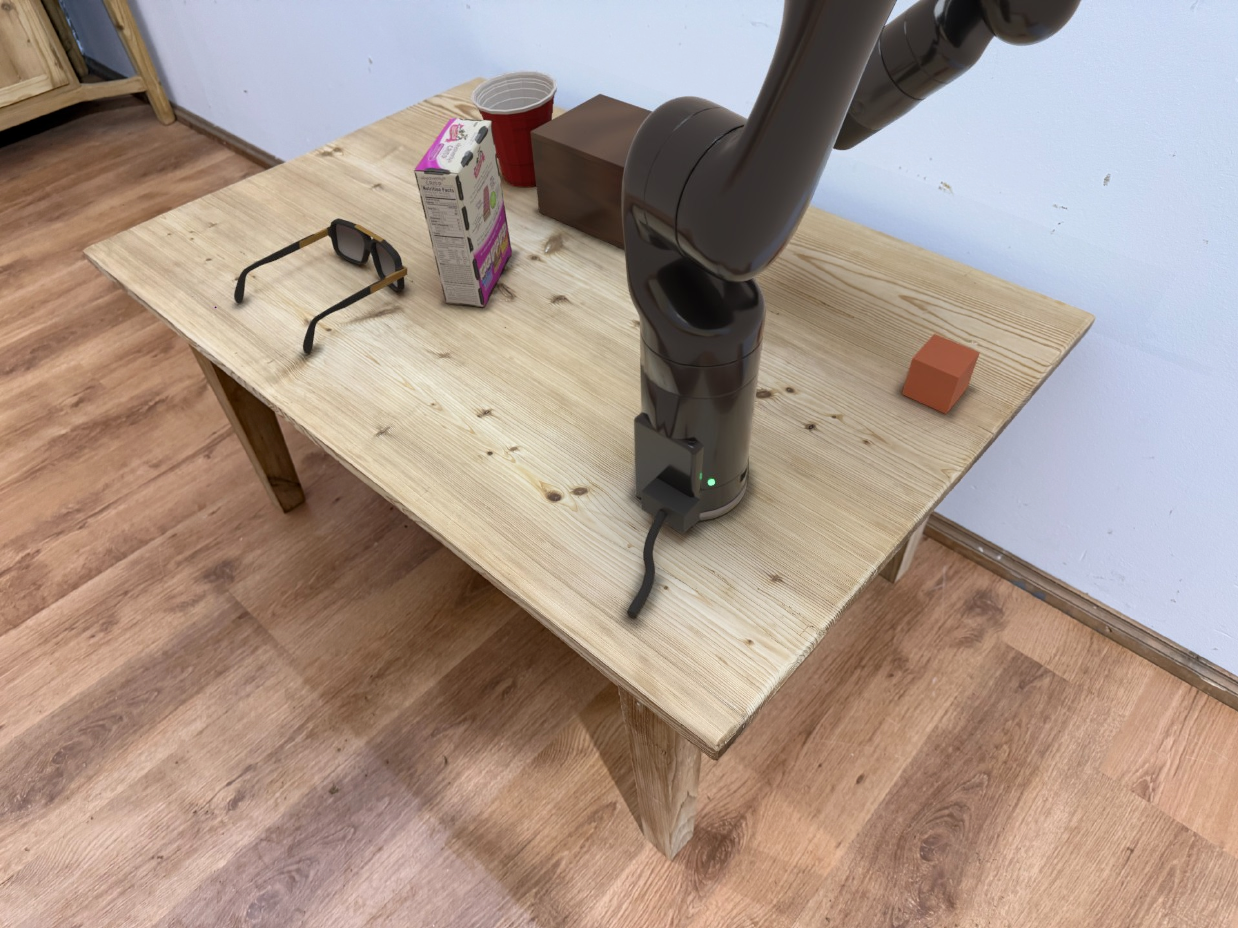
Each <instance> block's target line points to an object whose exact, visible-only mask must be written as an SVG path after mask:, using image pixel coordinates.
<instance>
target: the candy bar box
mask: <svg viewBox="0 0 1238 928" xmlns="http://www.w3.org/2000/svg"><path fill="white" fill-rule="evenodd" d="M413 173H414V177H415V180H416V181H415V182H416V185H417V189H418V193H419V197H420V202H421V207H422V209H423V214H424V218H425V223H426V226H427V231H428V233H429V234H428V235H429V238H430V241H431V243H430V244H431V247H432V251H433V255H434V260H435V263H436V268H437V272H438V276H439V280H440V284H441V288H442V293H443V298H444V301H445V303H446V304H450V305H454V306H455V305H457V306H471V307H478V308H479V307H480V308H485V306H486V305H487V302H488V300H490V299H489V298H490V297H491V295H492V293H493V290H494V289H495V287H496V285H497V282H498V280H499V279H500V276H501V274H502V273H503V270H504V269H505V267H506V265H507V263H508V260H509V259H510V258H511V255H512V253H513V250H512V243H511V239H510V237H511V236H510V232H509V225H508V220H507V214H506V207H505V200H504V195H503V189H502V183H501V180H502V179H501V176H500V169H499V161H498V158H497V156H496V149H495V143H494V137H493V131H492V124H491V121H487V120H483V119H471V118H466V119H463V118H461V117H454V118H449V119H448V121H447V122H446V124H445V125H444V126H443V128H442V130H441V131H440V133H438V135H437V137H436V138H435V139H434V141H433V142H432V144H431V145H430V146H429V148H428V149H427V151H426V152H425V153H424V155H423V156H422V158H421V159H420V161H419V162H418V163H417V165H416V166H415V167H414V169H413Z"/></svg>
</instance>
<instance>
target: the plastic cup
mask: <svg viewBox="0 0 1238 928" xmlns="http://www.w3.org/2000/svg"><path fill="white" fill-rule="evenodd" d="M557 90H558V85H557V79H555V78H554V77H552V75H550V74H549V73H545V72H542V71H538V70H517V71H511V72H504V73H502V74H499V75H496V76H492V77H490V78H488V79H486V80H485V81H483V82H481V83H479V84H478V85H477V86H476V87H475V88H474V90H473V91H472V92H471V103H472V105H474V106H475V107H476V108H477V110H478V112H479V114H480V116H481V118H482V120H487V121H491V124H492V131H493V137H494V143H495V149H496V156H497V161H498V165H499V167H500V170H501V174H502V176H503V177H504V181H505V182H506V183H507V184H508V185H510V186H513V187H518V188H530V187H535V186H536V178H535V169H534V160H533V151H532V142H531V131H532V130H534V129H536V128H538V127H540V126H542V125H543V124H545V123H547V122H549V121H551V120H553V113H554V104H555V95H556V93H557V92H558V91H557Z"/></svg>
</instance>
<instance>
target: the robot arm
mask: <svg viewBox="0 0 1238 928" xmlns="http://www.w3.org/2000/svg"><path fill="white" fill-rule="evenodd" d="M897 2H898V0H784V1H783V10H782V17H781V18H782V19H781V25H780V30H779V34H778V40H777V42H776V45H775V49H774V52H773V56H772V59H771V61H770V64H769V67H768V70H767V73H766V75H765V78H764V80H763V83H762V84H761V88H760V89H759V92H758V95H757V97H756V100H755V101H754V104H753V106H752V109H751V111H750V113H749V115H748V118H747V117H745V116H742V115H741V114H739V113H736V112H734V111H732V110H731V109H729V108H727V107H724V106H722V105H720V104H719V103H717V102H714V101H712V100H709V99H707V98H703V97H700V96H695V95H694V96H693V95H687V96H678V97H675V98H672V99H669V100H667V101H665V102H664V103H661V104H660V105H659V106H658V107H657V108H655V109H654V110H652V111H653V112H652V113H651V114H650V115H649V116H648V117H647V118H646V119H645V120H644V122H643V123H642V125H641V126H640V128H639V129H638V131H637V133H636V135H635V137H634V139H633V141H632V143H631V145H630V148H629V151H628V154H627V158H626V162H625V166H624V171H623V178H622V191H621V207H622V225H623V237H624V248H625V250H624V257H625V260H624V261H625V270H626V271H625V272H626V281H627V282H626V283H627V289H628V294H629V297H630V299H631V302H632V304H633V306H634V308H635V310H636V313H637V314H638V318H639V360H640V361H639V370H640V371H639V374H640V378H639V379H640V413H639V414H637V415H636V416H635V417H634V418H633V439H634V440H633V444H634V445H633V446H634V447H633V448H634V449H633V450H634V451H633V452H634V489H635V490H634V491H635V492H634V493H635V496H636V497H638V498H639V499H640V500H641V510H642V511H643V512H646V513H647V514H649V515H651V516H652V517H654V519H653V521H652V523H651V525H650V527H649V528H648V529H649V530H648V532H647V534H646V537H645V541H644V544H643V549H642V558H643V565H644V575H643V580H642V583H641V586H640V588H639V590H638V592H637V593H636V595H635V597H634V599H633V600H632V601H631V604H630V605H629V607H628V609H627V611H626V614H627V616H628V617H630V618H636V617H637V616H638V614H639V611H640V610H641V609H642V606H643V605H644V603H645V602H646V600H647V598H648V596H649V594H650V592H651V589H652V588H653V583H654V580H655V573H656V567H655V561H654V548H655V544H656V540H657V537H658V535H659V532H660V530H661V528H662V527H663V524H666V525H667V526H668V527H670V528H671V529H673V530H674V531H677V532H679V533H680V534H682V535H684V534H685V533H686V532H687V531H688V530H689V529H690V528H693V527H694V526H695V525H696V524H697V523H698V522H700V521H707V520H712V519H715V518H718V517H721V516H723V515H725V514H727V513H729V512H730V511H732V510H733V509H734V508H735V507H737V506H738V505H739V503H740V502H741V501H742V500H743V498H744V495H745V493H746V490H747V488H748V484H749V483H748V478H749V475H750V474H749V471H750V449H751V441H752V433H753V432H752V431H753V422H754V414H755V407H756V398H757V389H758V381H759V375H760V374H759V373H760V365H761V358H762V349H763V340H764V333H765V326H766V319H767V318H766V317H767V302H766V298H765V294H764V291H763V289H762V287H761V285H760V284H759V282H758V281H757V279H755V278H757V277H759V276H760V275H761V274H762V273H764V272H765V271H767V270H768V269H769V268H770V267H771V266H772V265H773V264H774V263H775V262H776V261H777V260H778V259H779V257H780V256H781V255H782V253H783V252H784V251H785V249H787V247H788V245H789V243H791V240H792V239H793V237H794V236H795V234H796V232H797V230H798V229H799V226H800V224H801V223H802V221H803V220H804V219H803V218H805V215H806V213H807V211H808V209H809V206H810V204H811V202H812V200H813V198H814V195H815V194H816V191H817V188H818V187H819V184H820V181H821V178H822V176H823V175H824V172H825V169H826V167H827V164H828V162H829V159H830V157H831V155H832V152H833V150H835V151H836V150H837V151H848V150H851V149H853V148H854V147H856V146H857V145H859V144H861V143H863V142H864V141H866V140H867V139H869V138H871V137H872V136H874V135H876V134H877V133H879V132H880V131H882V130H883V129H885V128H887V127H888V126H889V125H891V124H893V123H895V122H896V121H898V120H899V119H901V118H903V117H904V116H905V115H907V114H908V113H910V112H911V111H912V110H913V109H914V108H916V107H917V106H918V105H919V104H920V103H922V102H923V101H924V100H926V99H927V98H929V97H931V96H932V95H934V94H935V93H937V92H938V91H940V90H942V89H944V87H946V86H947V85H950V84H951V83H953V82H954V81H955V80H957V79H959V78H961V77H962V76H963V75H964V74H966V73H967V72H968V71H970V70H971V69H972V68H973V67H975V65H976V64H977V63H978V62H979V60H980V59H981V57H983V55H984V53H985V51H986V49H987V48H988V46H989V45H990V43H992V40H993V39H994V38H996V39H997V40H999V41H1000V42H1002V43H1005V44H1008V45H1011V46H1016V47H1027V46H1032V45H1037V44H1039V43H1042V42H1044V41H1046V40H1048V39H1050V38H1052V37H1054V36H1055V35H1056V34H1057V33H1059V32H1060V31H1061V30H1062V29H1063V28H1064V27H1065V26H1067V24H1068V23H1069V22H1070V21H1071V19H1072V18H1073V17H1074V15H1075V14H1076V12H1077V11H1078V8H1079V6H1080V5H1081V2H1082V0H918V1H916V2H915V3H913V4H912V5H911V6H910V7H908V8H907V9H906V10H904V11H903V12H902V13H900V14H899V15H897V16H896V17H895V18H894V19H892V20H891V21H890V22H889V23H887V22H888V20H889V18H890V16H891V14H892V12H893V11H894V8H895V5H896V4H897Z"/></svg>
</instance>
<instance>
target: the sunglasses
mask: <svg viewBox="0 0 1238 928" xmlns="http://www.w3.org/2000/svg"><path fill="white" fill-rule="evenodd" d="M327 237H329V238H330V241H331V245H332V248H333V251H334V252H335V254H337V256H339V257H340V258H341V259H344V260H346V261H348V262H350V263H353V264H355V265H364V264H367V263H368V261H369V259H370V256H371V259H372V261H373V264H374V267H375V271H376V273H377V275H378V277H379V278H380V279H379V280H377V281H375V282H373V283H371V284H369V285H368V286H366V287H364V288H362V289H360V290H359V291H357V292H355V293H353V294H352V295H350V296H348V297H346V298H344V299H342V300H341V301H340V302H337V303H335V304H334V305H331V306H330V307H328V308H327V309H325V310H323V311H321V312H320V313H319V314H317V315H315V316H314V317H313V318H312V319H311V321H310V322H309V325H308V327H307V330H306V333H305V335H304V338H303V342H302V350H303V352H304V353H305V354H306V355H309V354H311V353H312V351H313V346H314V341H315V334H316V327H317V324H318V322H320V321H321V320H322V319H324V318H326V317H327V316H329V315H330V314H334V313H336V312H338V311H340V310H343V309H346V308H347V307H349V306H351V305H354V304H355V303H357V302H359V301H361V300H363V299H365V298H366V297H368V296H370V295H372V294H374V293H376V292H378V291H380V290H381V289H383V288H385V287H387V286H388V287H390V288H391V289H392V290H394V291H395V292H399V291H402V290H404V289H405V277H406V276H408V267H407V266H405V265H403V262H402V257H401V256H400V253H399V252H398V251H397V249H395V247H394V246H393V245H392V244H390V242H388V241H387V239H385V238H383V237H382V236H379V235H378V234H377V233H374V232H373V231H371V230H369V229H367V228H365V227H364V226H362V225H361V224H357V223H354V222H352V221H350V220H346V219H342V218H335V219H334V220H332V221H330V225H329V226H327V227H325V228H323V229H321V230H319V231H317V232H314V233H312V234H310V235H307V236H304V237H303V238H301V239H299V240H297V241H295V242H293V243H291V244H289V245H287V246H285V247H283V248H280V249H279V250H277V251H275V252H273V253H271V254H269V255H267V256H265V257H263V258H261V259H259V260H258V261H255V262H254V263H252V264H250V265H248V266H246V267H245V268H244V269H242V270H241V272H240V274H239V276H238V279H237V282H236V285H235V288H234V293H233V299H234V301H235V303H236V304H241V303H243V301H244V299H245V290H246V289H245V288H246V280H247V275H248V274H249V273H250V272H252V271H254V270H256V269H257V268H259V267H261V266H264V265H267V264H269V263H272V262H276V261H277V260H281V259H282V258H284V257H286V256H288V255H290V254H293V253H295V252H296V251H298V250H302V249H304V248H306V247H308V246H309V245H310V246H311V245H312V244H313V243H317V242H318V241H319V240H322V239H324V238H327Z"/></svg>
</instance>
